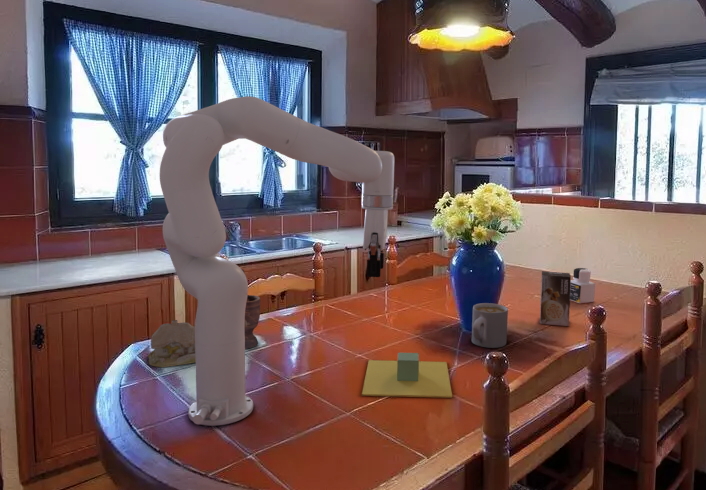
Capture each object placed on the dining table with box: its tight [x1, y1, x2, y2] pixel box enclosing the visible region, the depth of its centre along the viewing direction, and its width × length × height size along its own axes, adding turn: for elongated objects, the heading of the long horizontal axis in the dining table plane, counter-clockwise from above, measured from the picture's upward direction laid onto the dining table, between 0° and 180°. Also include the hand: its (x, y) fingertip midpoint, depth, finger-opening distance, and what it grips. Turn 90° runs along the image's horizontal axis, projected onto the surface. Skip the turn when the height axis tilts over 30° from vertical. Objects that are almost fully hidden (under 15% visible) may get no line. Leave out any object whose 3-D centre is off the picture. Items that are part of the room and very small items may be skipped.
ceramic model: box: [147, 319, 196, 368], centre depth 141 cm, size 14×11×10 cm
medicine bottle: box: [570, 267, 596, 304], centre depth 207 cm, size 7×7×12 cm
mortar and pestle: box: [241, 268, 261, 350], centre depth 153 cm, size 12×9×20 cm
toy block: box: [397, 352, 420, 381], centre depth 133 cm, size 5×5×5 cm
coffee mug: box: [471, 302, 509, 349], centre depth 158 cm, size 13×10×10 cm
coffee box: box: [539, 270, 572, 327], centre depth 179 cm, size 9×6×16 cm
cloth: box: [361, 359, 453, 399], centre depth 133 cm, size 20×20×1 cm
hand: (375, 272), depth 136 cm, fingers open, 9 cm apart
